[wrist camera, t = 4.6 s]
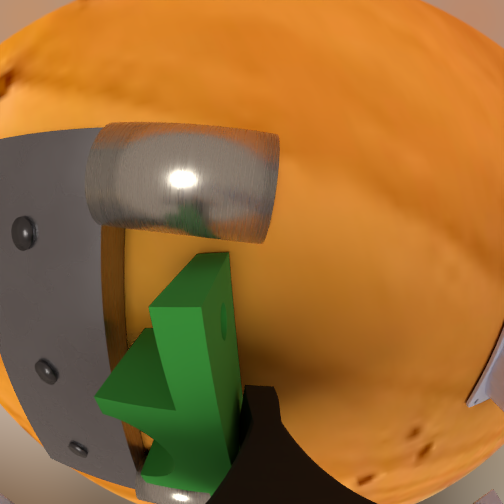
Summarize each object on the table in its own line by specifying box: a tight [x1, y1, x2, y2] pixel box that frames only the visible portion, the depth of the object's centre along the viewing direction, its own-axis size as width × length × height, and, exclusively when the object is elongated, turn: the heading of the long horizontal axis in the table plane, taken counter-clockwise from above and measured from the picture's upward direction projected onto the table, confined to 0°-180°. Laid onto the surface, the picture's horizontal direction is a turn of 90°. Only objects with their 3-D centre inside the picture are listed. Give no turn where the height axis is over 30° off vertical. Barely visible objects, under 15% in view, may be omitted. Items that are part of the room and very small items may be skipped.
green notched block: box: [94, 252, 243, 496], centre depth 9 cm, size 11×4×5 cm, turn 3°
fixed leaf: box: [0, 122, 280, 504], centre depth 9 cm, size 12×19×3 cm, turn 172°
